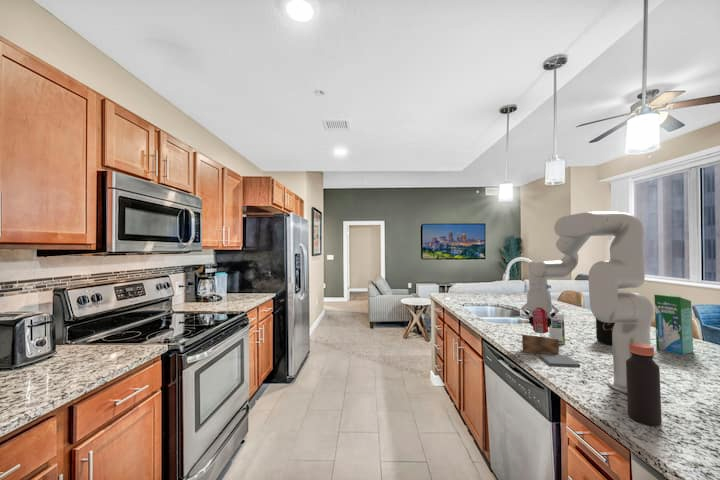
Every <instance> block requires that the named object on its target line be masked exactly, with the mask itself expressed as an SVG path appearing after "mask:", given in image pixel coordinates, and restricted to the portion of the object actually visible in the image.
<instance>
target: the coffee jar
mask: <svg viewBox="0 0 720 480" xmlns="http://www.w3.org/2000/svg"><path fill="white" fill-rule="evenodd" d="M614 324H615V323H606V322H602V321H599V320H598V319H597V318H595V329H596V330H595V332H596V334H595V336H596V340H597V342H598V343H600V344H603V345H607V346H613V345H612V331H613V327H614Z"/></svg>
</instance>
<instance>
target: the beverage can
mask: <svg viewBox="0 0 720 480" xmlns="http://www.w3.org/2000/svg"><path fill="white" fill-rule="evenodd" d="M532 319H533V326H532V331H533V332H534V333H537V334H546V333H549V327H548V315H547V312H546V311H545V310H544V309H542V307H537V308H536V309H535V310H534V311H533V313H532Z"/></svg>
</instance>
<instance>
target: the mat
mask: <svg viewBox="0 0 720 480" xmlns="http://www.w3.org/2000/svg"><path fill="white" fill-rule="evenodd" d="M537 356H538V357H539V358H540V359H541V360H542V361H543V362H545V363H546V364H547V365H548V366H549V367H569V368H571V367H573V368H574V367H575V368H580V367H581V364H580V363H579V362H577V361H575V360H574V359H573V358H571V357H570V356H569V355H567V354H559V355H552V354H537Z"/></svg>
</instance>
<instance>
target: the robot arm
mask: <svg viewBox="0 0 720 480" xmlns="http://www.w3.org/2000/svg"><path fill="white" fill-rule="evenodd" d="M553 230H554V233H555V234H556V236H558V237H559V238H557V240H556V242H555V247H556V249H557V250H558V251H560V253H562V254H563V255H564V256H563V257H562V258H561V259H560V260H541V261H540V260H539V261H529V262H528V265H527V267H528V269H527V270H528V285H529V286H528V289H527V294H526V303H525V304H524V305H523V306H522V307H520V310H521V311H522V312H523V313H524V314H525V315H526V316H527V317H528V320H529V325H530V326H531V327H533V319H532V313H533V311H534V310H535V309H536V308H537V307H542V309H544V310H545V311H546V312H547V316H548V328H549V327H550V325H551V318H552V317H553V316H555V315H556V314H557V313H560V310H559V309H558V308H557V307H556V306H555V305H553V302H552V295H551V292H550V290H549V289H552V285H549V284H548V278H551V279H552V278H565V277H567V276H569V275H570V274H571V273H572V272H573V271H574V270H575V269H576V267H577V266H578V264H579V254H578V252H579V251H580V250H581V249H582V247H583V246H585V244H586V242H588V240H589V239H590V237H593V236H594V237H605V236H607V237H608V236H609V237H611V236H613V237H614V238H613V239H612V241H611V242H610V246H609V260H599V261H597V262H594V264H592V266H591V267H590V269H589V271H588V279H587V280H588V292H589V293H588V296H589V307H590V311H591V313H592V316H594V318H595V319H596V318H597V319H598V320H599V321H602V322H606V323H615V324H614V327H613V331H612V345H611V346H612V366H613V377H611V378H609V379H607V384H608V386H610V387H611V389H612V388H613V389H614V390H616V391H618V392H621V393H625V394H627V377H626V360H628V359H629V358H630V357H632V354H631V353H630V343H643V344H648V345H651V328H652V327H651V325H652V321H653V317H654V307H653V304H652V302H651V300H650V299H649V298H648V297H647V296H645V295H643V294H640V293H639V292H638V293H636V292H629V291H628V292H618V290H623V289H624V290H625V289H626V290H627V289H637V288H639V287H641V286H643V284H644V282H645V278H646V275H645V262H644V258H645V257H644V250H643V248H644V247H643V244H644V226H643V222H642V221H641V220H640V219H639V218H638V217H637V216H635V215H633V214H631V213H628V212H620V211H585V212H581V213H580V212H578V213H574V214H567V215H562V216H561V217H559V218H558V219H557V220H556V221H555V223H554V228H553ZM526 308H527V310H526ZM553 310H554V311H553ZM549 312H553V313H551V314H550V313H549Z"/></svg>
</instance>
